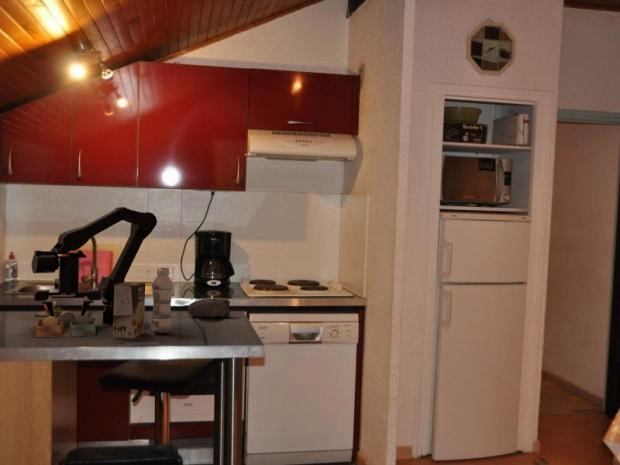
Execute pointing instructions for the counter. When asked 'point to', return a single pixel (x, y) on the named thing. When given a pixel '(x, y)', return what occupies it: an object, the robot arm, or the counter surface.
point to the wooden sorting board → (65, 329)
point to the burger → (57, 311)
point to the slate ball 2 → (83, 320)
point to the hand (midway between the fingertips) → (67, 323)
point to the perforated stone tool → (209, 308)
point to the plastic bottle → (162, 302)
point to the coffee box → (128, 309)
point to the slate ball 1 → (67, 318)
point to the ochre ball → (50, 321)
